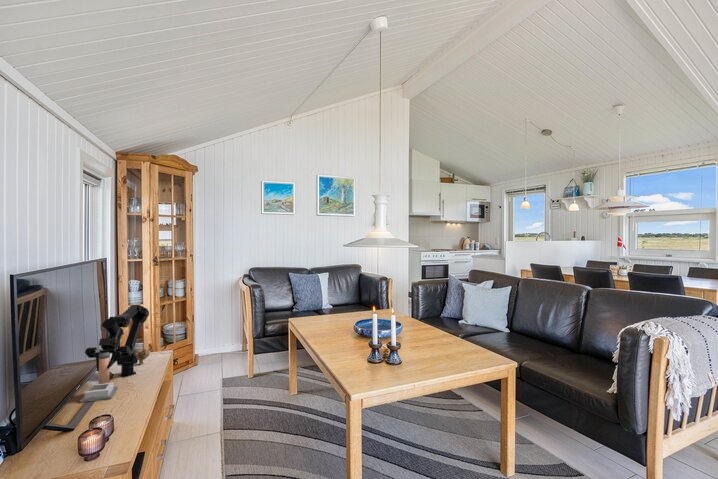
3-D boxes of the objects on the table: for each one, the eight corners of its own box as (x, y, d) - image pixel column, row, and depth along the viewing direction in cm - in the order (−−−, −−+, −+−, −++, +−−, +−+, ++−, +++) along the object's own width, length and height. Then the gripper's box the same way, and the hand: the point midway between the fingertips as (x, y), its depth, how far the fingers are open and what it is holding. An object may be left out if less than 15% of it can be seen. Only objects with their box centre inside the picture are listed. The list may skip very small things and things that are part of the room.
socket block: (88, 392, 172) (88, 383, 172) (117, 388, 176) (117, 380, 176) (79, 403, 161) (79, 394, 161) (110, 399, 165) (111, 390, 165)
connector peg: (99, 381, 170) (99, 352, 169) (110, 379, 172) (110, 351, 171) (97, 384, 166) (98, 355, 166) (108, 383, 168) (108, 354, 168)
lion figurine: (151, 362, 213) (151, 347, 213) (147, 365, 207) (147, 350, 207) (126, 362, 211) (126, 347, 211) (120, 365, 206) (121, 350, 206)
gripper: (86, 331, 170) (73, 362, 160) (129, 330, 174) (119, 360, 164) (95, 342, 178) (82, 372, 168) (136, 340, 182) (126, 370, 171)
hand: (102, 368), depth 167 cm, fingers closed on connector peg, 4 cm apart
